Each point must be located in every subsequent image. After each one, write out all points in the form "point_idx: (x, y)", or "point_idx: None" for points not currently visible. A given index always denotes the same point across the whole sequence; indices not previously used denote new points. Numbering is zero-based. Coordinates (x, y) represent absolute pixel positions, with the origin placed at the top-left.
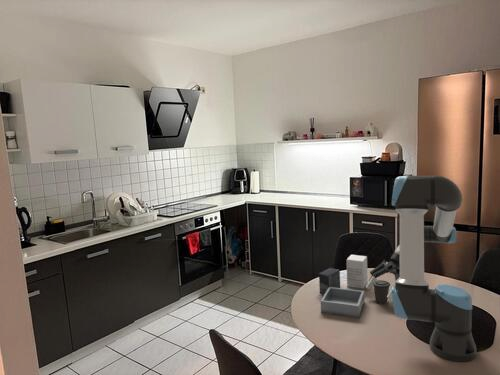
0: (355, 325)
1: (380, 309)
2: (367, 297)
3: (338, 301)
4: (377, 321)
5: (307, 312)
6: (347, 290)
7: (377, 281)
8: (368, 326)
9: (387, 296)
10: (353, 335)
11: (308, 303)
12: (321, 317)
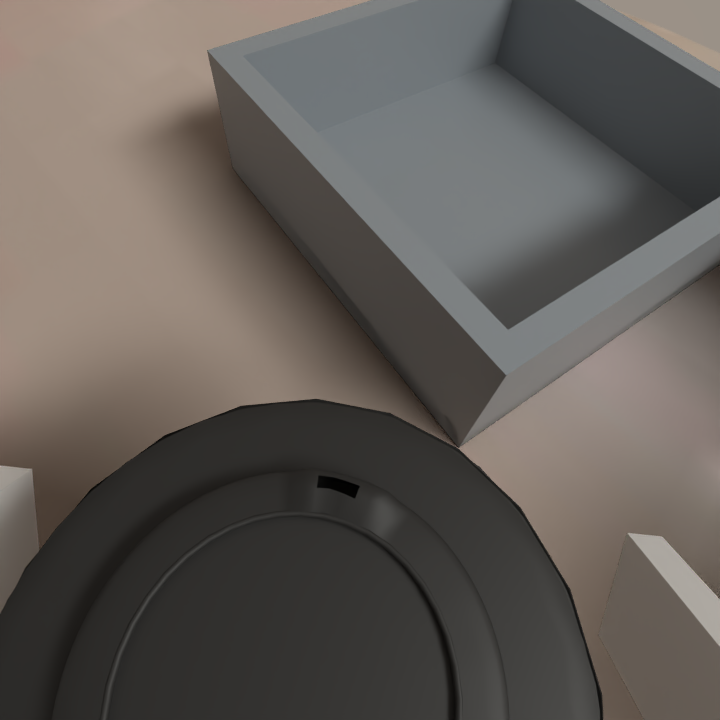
0: (178, 90)
1: None
2: None
3: (578, 211)
4: (65, 222)
5: None
6: (659, 236)
7: (439, 635)
8: (89, 130)
9: (7, 473)
10: (111, 21)
11: None
12: None
